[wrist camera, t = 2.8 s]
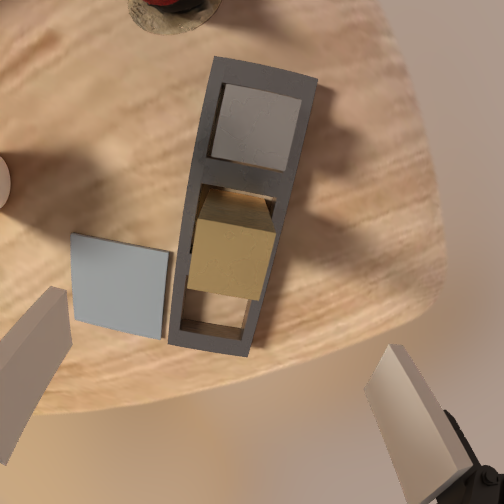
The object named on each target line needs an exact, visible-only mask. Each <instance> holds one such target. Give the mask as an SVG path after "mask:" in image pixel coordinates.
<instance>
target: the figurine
mask: <svg viewBox="0 0 504 504" xmlns="http://www.w3.org/2000/svg"><path fill="white" fill-rule="evenodd" d="M220 3H221V0H128V9H129V14H130V15H131V17H132V19H133V21H134V22H135V23H136V24H137V25H138V26H139V27H141V28H142V29H144V30H146V31H148V32H150V33H154V34H159V35H174V34H180V33H184V32H187V31H190V30H189V28H190V29H191V30H192V29H193V28H196V27H198V26H200V25H201V24H203V23H204V22H206V21H207V20H208V19H209V18H210V17H211V16H212V15H213V14H214V13H215V11H216V10H217V8H218V7H219V5H220ZM179 24H181V25H179ZM182 26H184V27H183V28H184V29H182V28H181V27H182ZM154 27H155V28H154ZM186 29H187V31H186Z"/></svg>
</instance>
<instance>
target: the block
mask: <svg viewBox="0 0 504 504" xmlns="http://www.w3.org/2000/svg"><path fill="white" fill-rule="evenodd" d="M301 101H302V100H299V99H295V98H292V97H287V96H283V95H279V94H275V93H271V92H266V91H261V90H257V89H252V88H247V87H242V86H236V85H231V84H226V88H225V92H224V97H223V101H222V106H221V110H220V115H219V120H218V124H217V129H216V134H215V139H214V144H213V149H212V154H211V156H212V157H217V158H223V159H228V160H233V161H239V162H244V163H249V164H254V165H258V166H263V167H268V168H272V169H277V170H281V171H285V169H286V165H287V161H288V157H289V153H290V148H291V144H292V140H293V136H294V131H295V127H296V123H297V118H298V114H299V110H300V105H301Z"/></svg>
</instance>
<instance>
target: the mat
mask: <svg viewBox="0 0 504 504" xmlns="http://www.w3.org/2000/svg"><path fill="white" fill-rule="evenodd" d="M168 259H169V251H166V250H160V249H155V248H150V247H144V246H139V245H134V244H129V243H123V242H118V241H113V240H108V239H103V238H97V237H92V236H87V235H82V234H77V233H71V276H72V293H73V306H74V316H75V320H78V321H82V322H85V323H89V324H93V325H97V326H101V327H105V328H109V329H113V330H117V331H121V332H126V333H130V334H134V335H139V336H144V337H148V338H153V339H158V340H161V333H162V320H163V308H164V297H165V286H166V277H167V267H168Z"/></svg>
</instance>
